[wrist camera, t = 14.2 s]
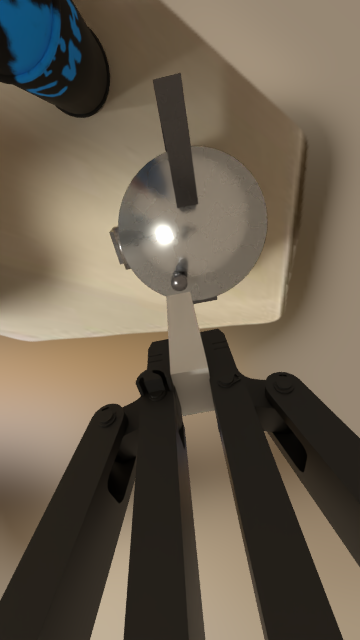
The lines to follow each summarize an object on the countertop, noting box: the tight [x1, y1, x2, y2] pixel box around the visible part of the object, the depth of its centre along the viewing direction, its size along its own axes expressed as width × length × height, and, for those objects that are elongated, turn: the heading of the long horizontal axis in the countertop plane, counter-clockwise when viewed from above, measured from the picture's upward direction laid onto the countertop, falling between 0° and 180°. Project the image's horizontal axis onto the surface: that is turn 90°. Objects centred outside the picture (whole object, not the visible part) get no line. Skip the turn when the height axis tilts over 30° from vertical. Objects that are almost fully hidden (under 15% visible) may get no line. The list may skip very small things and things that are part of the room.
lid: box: [112, 116, 267, 301], centre depth 27 cm, size 17×19×3 cm
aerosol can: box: [0, 0, 110, 118], centre depth 19 cm, size 8×8×20 cm
